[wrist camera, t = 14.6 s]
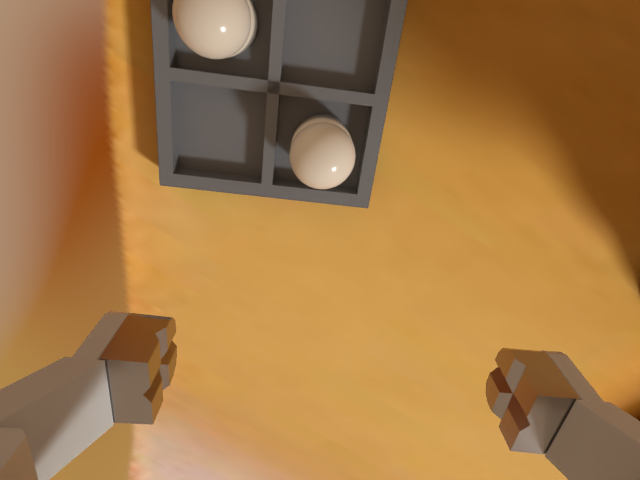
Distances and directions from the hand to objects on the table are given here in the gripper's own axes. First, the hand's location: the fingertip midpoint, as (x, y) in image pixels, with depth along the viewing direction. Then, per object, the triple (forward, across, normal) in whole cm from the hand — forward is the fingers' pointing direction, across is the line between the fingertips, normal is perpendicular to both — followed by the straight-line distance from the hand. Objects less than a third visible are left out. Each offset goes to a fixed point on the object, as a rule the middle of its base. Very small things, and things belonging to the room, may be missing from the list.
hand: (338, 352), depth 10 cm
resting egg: (+23, +7, -7) cm, 25 cm away
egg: (+23, 0, 0) cm, 23 cm away
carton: (+24, +4, -4) cm, 24 cm away
